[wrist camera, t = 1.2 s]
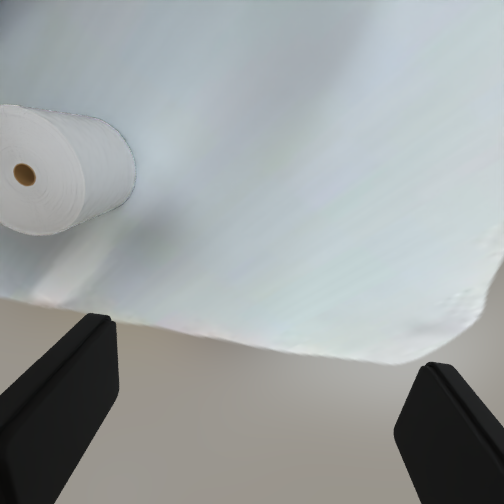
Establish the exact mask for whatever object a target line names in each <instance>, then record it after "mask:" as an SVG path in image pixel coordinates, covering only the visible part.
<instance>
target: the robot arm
mask: <svg viewBox="0 0 504 504" xmlns="http://www.w3.org/2000/svg"><path fill="white" fill-rule="evenodd" d="M117 354H118V353H117V333H116V323H115V322H114V321H111V318H110V316H108V315H101V314H94V313H88V314H87V315H85V316H84V317H83V318H82V319H81V320H80V321H79V322H78V323H77V324H76V325H75V326H74V327H73V328H72V329H71V330H70V331H69V332H68V333H66V334H65V336H63V337H62V338H61V339H60V340H59V341H58V342H57V343H56V344H55V345H54V346H53V347H52V348H50V349H49V350H48V351H47V352H46V353H45V354H44V355H43V356H42V357H41V358H40V359H38V360H37V361H36V362H35V363H34V364H33V365H32V366H31V367H30V368H29V369H28V370H27V371H25V373H23V374H22V375H21V376H20V377H19V378H18V379H17V380H16V381H15V382H14V383H13V384H12V385H11V386H10V387H8V389H6V390H5V391H4V392H3V393H2V394H1V395H0V504H54V503H55V501H56V500H57V498H58V496H59V495H60V493H61V491H62V489H63V488H64V486H65V485H66V483H67V481H68V479H69V478H70V476H71V474H72V473H73V471H74V469H75V468H76V466H77V464H78V463H79V461H80V459H81V458H82V456H83V454H84V453H85V451H86V449H87V448H88V446H89V444H90V443H91V440H92V439H93V437H94V436H95V434H96V432H97V430H98V429H99V427H100V426H101V424H102V422H103V421H104V419H105V417H106V415H107V414H108V412H109V411H110V409H111V407H112V405H113V404H114V402H115V400H116V398H117V396H118V392H119V372H118V355H117ZM394 439H395V442H396V444H397V447H398V449H399V451H400V454H401V456H402V459H403V461H404V463H405V466H406V468H407V471H408V473H409V475H410V478H411V480H412V482H413V485H414V487H415V489H416V492H417V494H418V497H419V499H420V501H421V504H504V428H503V426H502V425H501V424H500V423H499V421H498V420H497V419H496V418H495V416H494V415H493V414H492V413H491V412H490V410H489V409H488V408H487V407H486V406H485V404H484V403H483V402H482V401H481V400H480V398H479V397H478V396H477V395H476V394H475V392H474V391H473V390H472V388H471V387H470V386H469V385H468V384H467V382H466V381H465V380H464V379H463V377H462V376H461V375H460V374H459V373H458V371H457V370H456V369H455V368H454V367H453V366H452V365H449V364H443V363H436V362H428V363H427V364H426V365H425V366H422V367H421V368H420V370H419V372H418V374H417V376H416V379H415V381H414V383H413V385H412V388H411V390H410V392H409V395H408V397H407V399H406V401H405V404H404V406H403V408H402V411H401V413H400V415H399V417H398V420H397V422H396V424H395V427H394Z"/></svg>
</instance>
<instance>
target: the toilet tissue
mask: <svg viewBox="0 0 504 504" xmlns="http://www.w3.org/2000/svg"><path fill="white" fill-rule="evenodd" d="M135 180H136V167H135V162H134V158H133V155H132V153H131V150H130V148H129V146H128V145H127V143H126V141H125V140H124V139H123V138H122V136H121V135H120V133H119V132H118V131H117V130H115V129H114V128H113V127H112V126H111V125H109V124H108V123H106V122H104V121H102V120H100V119H97V118H93V117H89V116H84V115H78V114H70V113H64V112H62V113H61V112H57V111H49V110H45V109H38V108H31V107H23V106H18V105H11V104H7V105H0V223H1V224H3V225H4V226H6V227H8V228H10V229H12V230H14V231H17V232H20V233H24V234H27V235H35V236H45V235H52V234H56V233H60V232H63V231H65V230H67V229H68V228H71V227H73V226H75V225H79V224H81V223H82V222H85V221H87V220H89V219H92V218H94V217H97V216H100V215H102V214H104V213H106V212H108V211H111V210H113V209H115V208H117V207H119V206H120V205H122V204H123V203H124V202H125V201H126V200H127V199H128V197H129V196H130V195H131V193H132V190H133V188H134V185H135Z"/></svg>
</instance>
